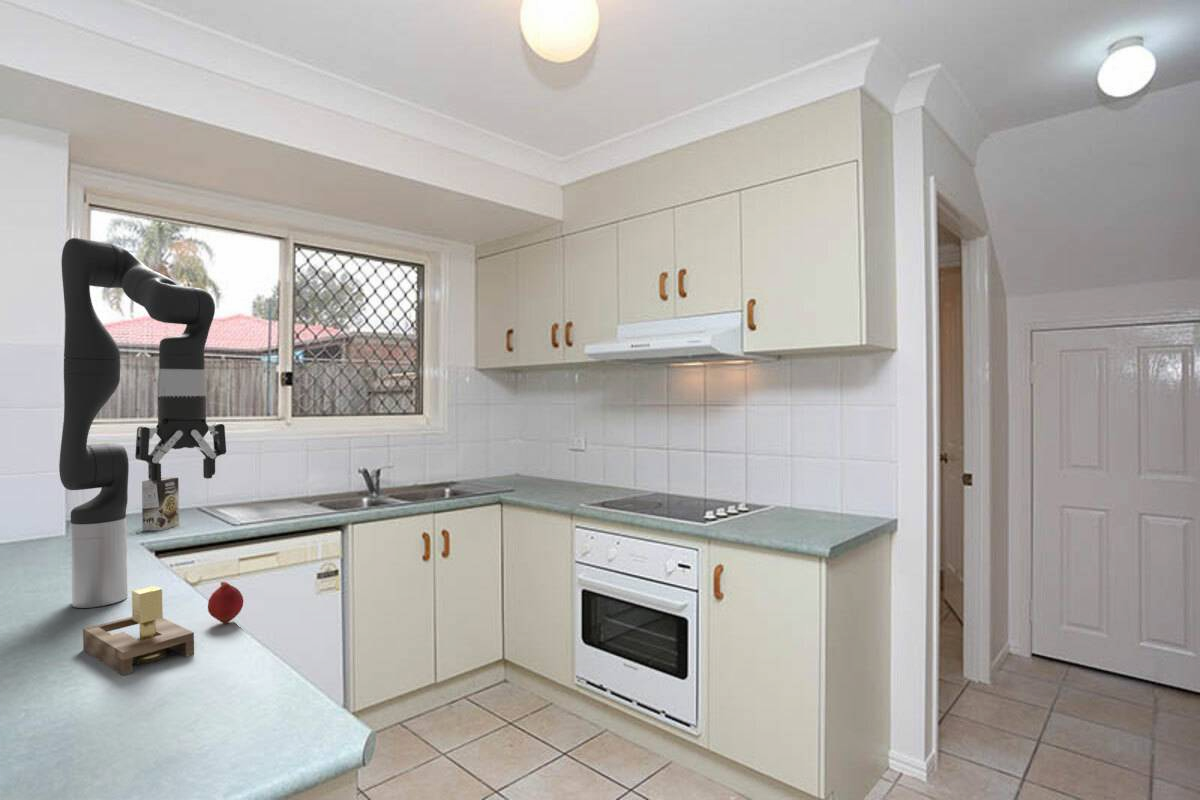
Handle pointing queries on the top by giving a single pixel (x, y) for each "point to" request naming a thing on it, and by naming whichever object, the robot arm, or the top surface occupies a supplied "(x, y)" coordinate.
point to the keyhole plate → (134, 642)
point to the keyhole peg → (147, 618)
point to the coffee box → (160, 504)
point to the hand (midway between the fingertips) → (182, 480)
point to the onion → (225, 603)
